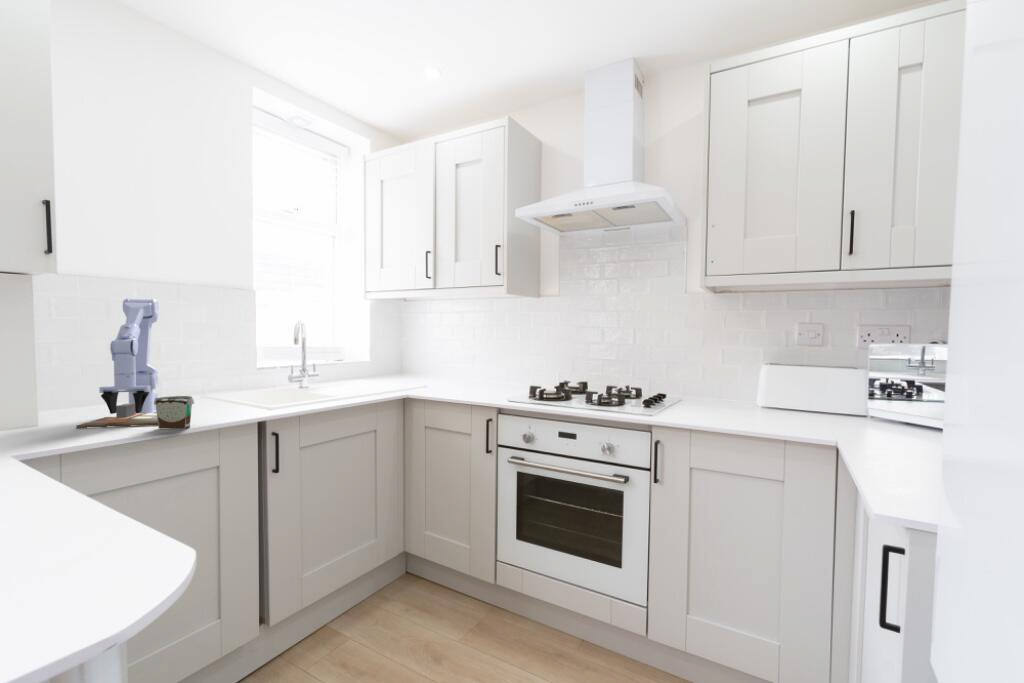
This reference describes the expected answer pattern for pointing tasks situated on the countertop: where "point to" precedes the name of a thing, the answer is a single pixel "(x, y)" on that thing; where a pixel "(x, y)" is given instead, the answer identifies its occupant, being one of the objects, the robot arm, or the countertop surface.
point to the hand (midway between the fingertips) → (126, 413)
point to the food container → (174, 411)
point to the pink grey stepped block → (124, 413)
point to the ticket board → (137, 420)
